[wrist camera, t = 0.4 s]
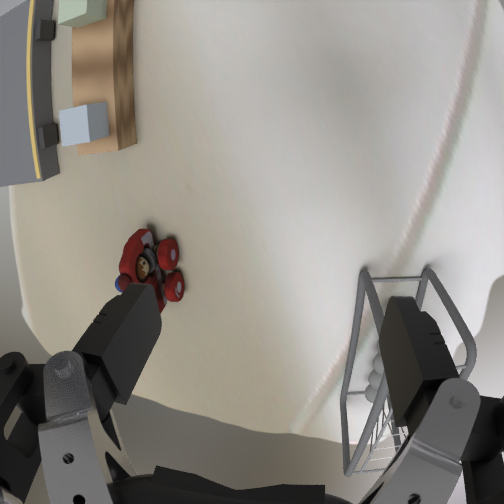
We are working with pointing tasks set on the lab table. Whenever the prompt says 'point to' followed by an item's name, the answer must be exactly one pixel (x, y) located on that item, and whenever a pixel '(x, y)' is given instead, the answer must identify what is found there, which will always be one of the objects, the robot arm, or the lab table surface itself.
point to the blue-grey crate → (84, 123)
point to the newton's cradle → (377, 378)
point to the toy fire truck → (151, 267)
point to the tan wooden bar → (106, 74)
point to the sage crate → (81, 12)
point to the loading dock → (27, 95)
